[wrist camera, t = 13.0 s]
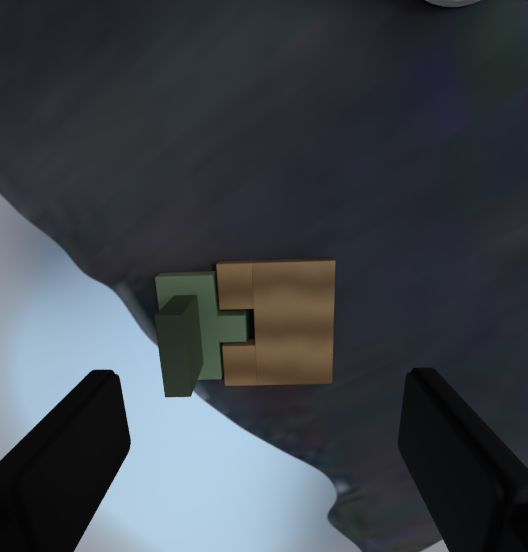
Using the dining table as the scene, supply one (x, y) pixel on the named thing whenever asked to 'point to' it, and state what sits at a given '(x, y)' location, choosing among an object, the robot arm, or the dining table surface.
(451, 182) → the dining table surface
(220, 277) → the notched brown wooden block
